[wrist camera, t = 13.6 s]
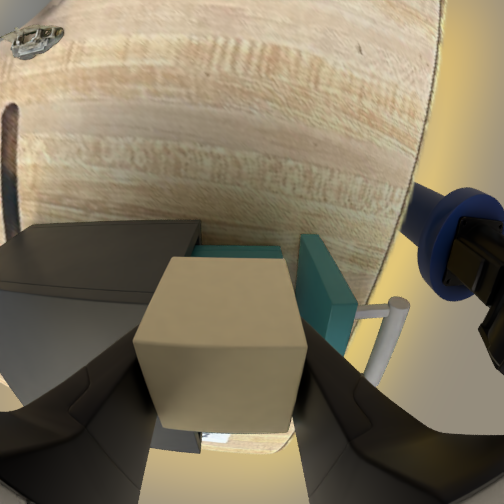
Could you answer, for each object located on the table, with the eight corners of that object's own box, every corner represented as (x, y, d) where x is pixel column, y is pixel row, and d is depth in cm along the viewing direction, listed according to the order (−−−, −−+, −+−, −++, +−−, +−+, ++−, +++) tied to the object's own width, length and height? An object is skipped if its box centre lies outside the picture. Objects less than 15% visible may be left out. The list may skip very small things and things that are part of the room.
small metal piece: (8, 64, 12) (-16, 62, 10) (14, 38, 12) (-8, 34, 9) (57, 55, 13) (34, 50, 10) (66, 27, 12) (43, 19, 10)
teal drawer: (385, 235, 19) (446, 297, 12) (354, 356, 23) (380, 427, 16) (115, 233, 18) (56, 295, 11) (144, 356, 23) (119, 428, 16)
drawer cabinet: (200, 219, 19) (164, 304, 10) (211, 358, 24) (200, 454, 16) (31, 224, 19) (-46, 282, 10) (70, 343, 24) (30, 415, 15)
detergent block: (285, 258, 9) (308, 346, 5) (277, 343, 11) (288, 433, 7) (171, 255, 9) (130, 341, 5) (182, 340, 11) (162, 428, 7)
